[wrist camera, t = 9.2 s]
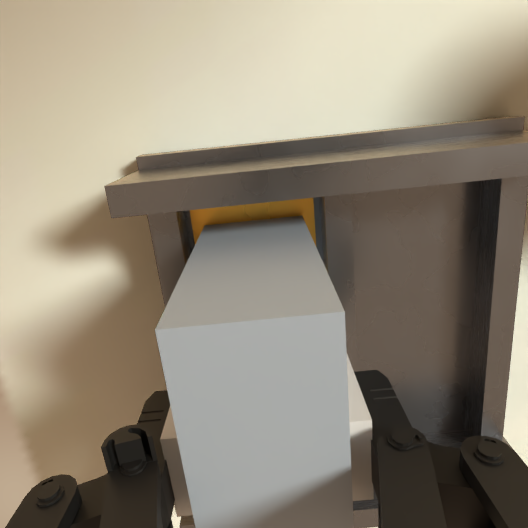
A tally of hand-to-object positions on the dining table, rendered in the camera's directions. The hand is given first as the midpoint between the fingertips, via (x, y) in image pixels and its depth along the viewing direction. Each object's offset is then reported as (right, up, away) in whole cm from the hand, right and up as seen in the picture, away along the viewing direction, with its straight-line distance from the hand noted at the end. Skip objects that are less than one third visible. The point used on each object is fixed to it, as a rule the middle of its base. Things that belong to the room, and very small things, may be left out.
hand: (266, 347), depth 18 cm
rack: (+3, +1, +2) cm, 4 cm away
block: (0, +1, +1) cm, 2 cm away
